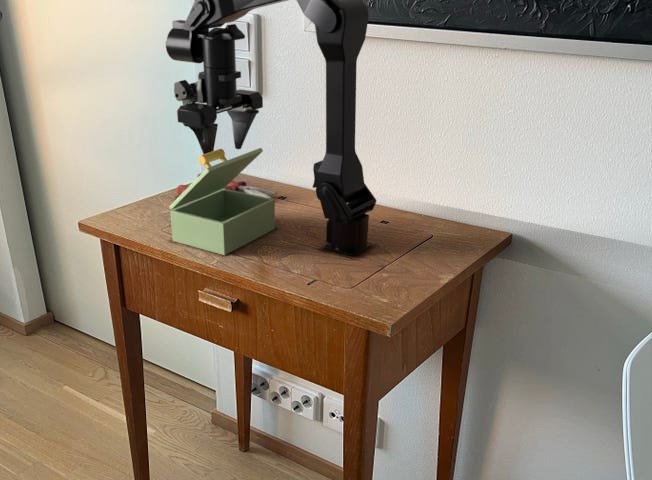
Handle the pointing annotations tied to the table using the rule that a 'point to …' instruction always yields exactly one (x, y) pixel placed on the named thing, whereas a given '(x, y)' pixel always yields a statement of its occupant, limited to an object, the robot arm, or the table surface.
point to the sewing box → (223, 220)
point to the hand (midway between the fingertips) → (223, 154)
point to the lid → (215, 175)
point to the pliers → (236, 189)
